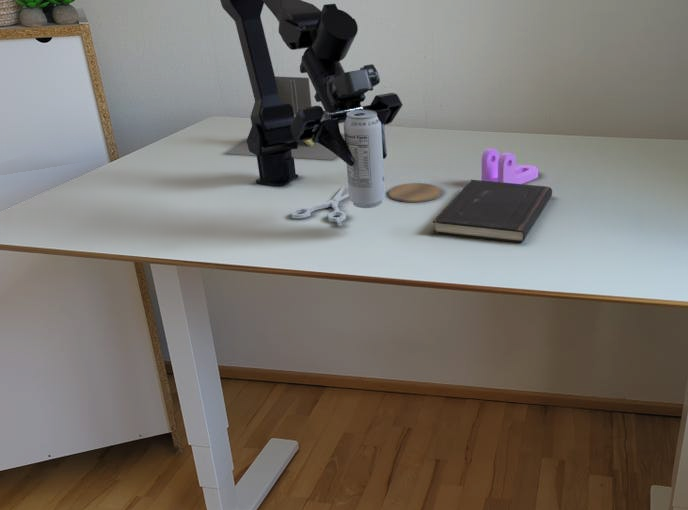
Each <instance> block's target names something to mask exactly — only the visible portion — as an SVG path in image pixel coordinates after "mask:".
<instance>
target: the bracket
mask: <svg viewBox="0 0 688 510" xmlns="http://www.w3.org/2000/svg"><path fill="white" fill-rule="evenodd" d="M481 155H482V156H481V181H492V182H503V183H514V184H525V183H528V182H530V181H533V180H536V179H538V177H539V168H538V167H537V166H535V165H529V164H519V165H517V160H516V156H515V154H514V153H512V152H505V151H504V152H503V153H502V154H500V152H499V151H498V150H497V149H494V148H491V147H488V148H486V149H485V150H483V153H482V154H481Z"/></svg>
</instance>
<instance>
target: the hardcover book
mask: <svg viewBox="0 0 688 510" xmlns="http://www.w3.org/2000/svg"><path fill="white" fill-rule="evenodd" d="M552 196H553V189H552V187H551V186H546V185H534V184H525V183H523V184H514V183H503V182H492V181H482V179H471V180H470V181H469V182H468V183H467V184H466V185H465V186H464V187H463V188H462V189H461V190H460V192H458V193H457V195H456V196H455V197H454V198H453V199H452V200H451V201H450V202H449V203H448V204H447V205H446V206H445V208H444V209H443V210H442V211H440V213H439V214H438V215H437V216H436V217H435V218H434V219H433V221H432V223H433V224H435V226H434V228H435V229H434V230H433V232H432V234H436V235H442V236H451V237H452V236H453V237H460V238H461V237H462V238H470V239H471V238H472V239H480V240H488V241H496V242H497V241H498V242H506V243H507V242H508V243H515V244H522V243H523V242H524V241H525V239H526V238H527V236H528V235H529V233H530V231H531V230H532V228H533V227H534V225H535V224H536V222H537V220H538V219H539V217H540V215H541V214H542V212H543V211H544V209H545V208H546V206H547V204H548V203H549V201H550V199H551V198H552Z"/></svg>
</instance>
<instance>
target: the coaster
mask: <svg viewBox="0 0 688 510" xmlns="http://www.w3.org/2000/svg"><path fill="white" fill-rule="evenodd" d="M388 196H389V197H390V198H391V199H392V200H395V201H398V202H403V203H424V202H430V201H432V200H436V199H437V198H438V197H440V196H441V189H440V188H439V187H438V186H435V185H433V184H428V183H422V182H421V183H420V182H413V183H411V182H410V183H403V184H399V185H396V186H394V187H392V188H390V190H389V191H388Z"/></svg>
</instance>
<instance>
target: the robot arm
mask: <svg viewBox="0 0 688 510" xmlns="http://www.w3.org/2000/svg"><path fill="white" fill-rule="evenodd" d="M219 1H220V4H221V7H222V9H223V10H224V11H225V12H226V14H228V15H229V17H230V18H231V19H232V20H233V21H234V23H235V28H236V32H237V35H238V39H239V44H240V47H241V51H242V54H243V59H244V63H245V67H246V70H247V75H248V79H249V83H250V87H251V91H252V94H253V98H254V99H253V100H254V104H253V107H252V110H251V114H250V122H251V128H250V130H249V133H248V136H247V138H246V141H247V145H248V148H249V151H250V152H251V153H253V154H255V155H254V156H256V155H257V156H256V161H257V169H258V175H259V178H257V179H255V183H256V184H261V185H269V186H278V187H284V186H286V185H288V184H290V183H291V182H293V181H295V180H296V179H298V178H299V174H297V173H296V164H295V158H293V157H292V153H291V150H292V149H298V142H300V141H305V140H310V139H312V141H313V143H319V144H321V145H322V146H324V147H325V148H327V149H329V150H330V151H332V152H333V153H334V154H336V155H337V156H336V157H338V158H339V159H341V160H342V161H343V162H344V163H345V164H346V165H347V164H348V165H349V166H353V165H354V160H353V157H352V155H351V152H350V150H349V149H348V147H347V145H346V143H345V141H344V139H343V137H342V135H343V134H342V133H341V129H340V124H344V122H345V120H346V118H347V113H348V112H350V111H354V110H372V111H375V112H377V117H378V119H379V120H380V122H381V130H382V149H383V160H385V159H386V158H387V156H388V152H387V151H388V150H387V144H386V143H387V141H386V134H385V126H386V125H389V124H391V123H392V122H393V121H394V119H395V118H396V116H397V115H398V113H399V112H400V111H401V109H402V107H403V105H404V104H403V102H402V100H401V98H400V97H399V96H400V95H398V94H397V93H395V92H387V93H381V94H376V95H375V96H374V97H373V99H372V101H371V102H370V104H368V105H363V106H362V105H361V103H363V102H364V101H365V100H366V95H365V94H366V93H368V92H372V91H373V90H374V87H376V86H377V85H379V84H380V82H381V78H380V75H379V72H378V70H377V68H376V67H375V65H374V64H373V63H372V64H365V65H363V67H360V69H358V70H350V71H345V69H344V68H343V66H342V63H341V61H343V60H344V59H345V58H346V57H347V55H348V52H349V51H350V49H351V47H352V45H353V42H354V41H355V38H356V36H357V35H358V31H359V25H358V23H357V21H356V19H355V18H354V17H352V16H351V14H349V13H348V12H347V11H344V10H342V9H339V8H338V6H337V5H336V3H326V4H323V6H322V9H320V8H318V7H317V6H316V5H314V4H313V3H310V2H307V1H304V0H219ZM264 5H265V6H266V8H268V10H269V11H270V12H271V13H272V15H273V16H274V17H275V18H276V20H277V22H278V34H279V35H280V38H281V40H282V41H283V42H284V44H285V45H286V46H287V48H289V50H291V51H295V50H296V51H297V50H302V49H305V50H304V51H303V55H302V56H301V62H300V65H299V72H300V73H301V74H307V76H308V78H309V81H310V82H311V85H312V86H313V89H314V91H315V94H314V96H313V98H314V100H315V102H316V103H321V105H322V106H320V105H312V107H306V108H300V109H299V110H298V112H297V114H296V116H295V117H294V112H293V107H292V106H291V104H290V103H288V104H286V102H285V101H284V100H283V99H282V98H281V97H280V95H279V91H278V87H277V83H276V79H275V76H276V75H275V71H274V66H273V62H272V58H271V55H270V50H269V46H268V42H267V38H266V34H265V30H264V29H265V28H264V26H263V21H262V17H261V15H262V11H263V8H264ZM313 135H314V136H313ZM312 137H313V138H312Z"/></svg>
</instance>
